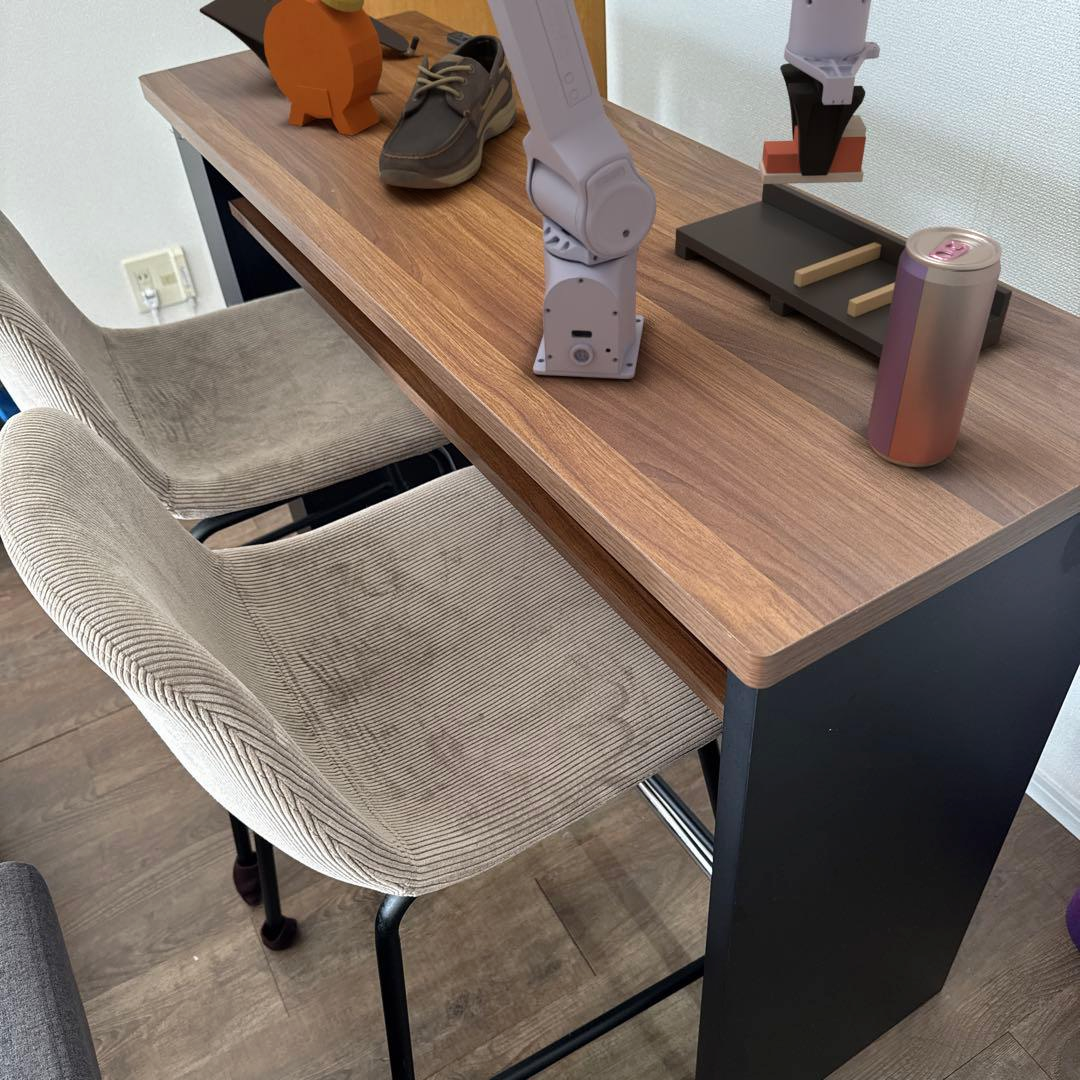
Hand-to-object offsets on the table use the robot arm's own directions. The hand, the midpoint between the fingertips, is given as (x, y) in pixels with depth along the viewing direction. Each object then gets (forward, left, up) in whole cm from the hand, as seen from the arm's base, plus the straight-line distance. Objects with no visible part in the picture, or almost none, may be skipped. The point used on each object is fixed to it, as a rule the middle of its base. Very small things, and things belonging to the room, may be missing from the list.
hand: (810, 165), depth 87 cm
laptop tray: (+57, +62, -10) cm, 84 cm away
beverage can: (-24, -7, -10) cm, 27 cm away
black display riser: (-2, -2, -10) cm, 11 cm away
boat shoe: (+28, +38, -10) cm, 49 cm away
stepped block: (0, 0, -1) cm, 1 cm away
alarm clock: (+38, +55, -10) cm, 67 cm away
